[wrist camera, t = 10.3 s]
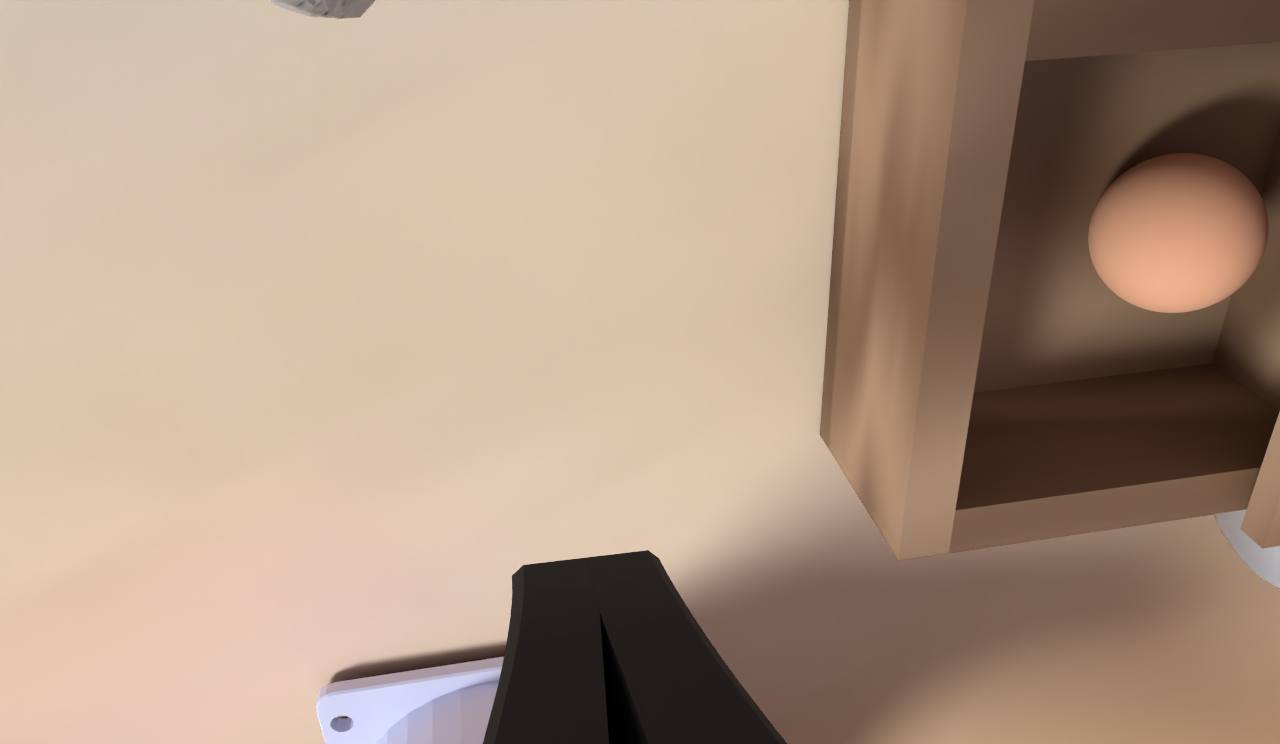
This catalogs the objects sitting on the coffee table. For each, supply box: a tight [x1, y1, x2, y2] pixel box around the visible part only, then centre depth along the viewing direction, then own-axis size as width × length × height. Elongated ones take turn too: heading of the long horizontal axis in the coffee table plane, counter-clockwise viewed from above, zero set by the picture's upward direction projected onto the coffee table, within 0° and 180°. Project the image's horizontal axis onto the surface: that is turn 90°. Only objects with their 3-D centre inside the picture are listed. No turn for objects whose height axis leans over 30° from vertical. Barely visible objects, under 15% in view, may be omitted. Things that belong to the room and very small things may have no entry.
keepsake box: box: [820, 0, 1280, 561], centre depth 18 cm, size 10×10×4 cm
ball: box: [1088, 153, 1269, 313], centre depth 19 cm, size 3×3×3 cm
